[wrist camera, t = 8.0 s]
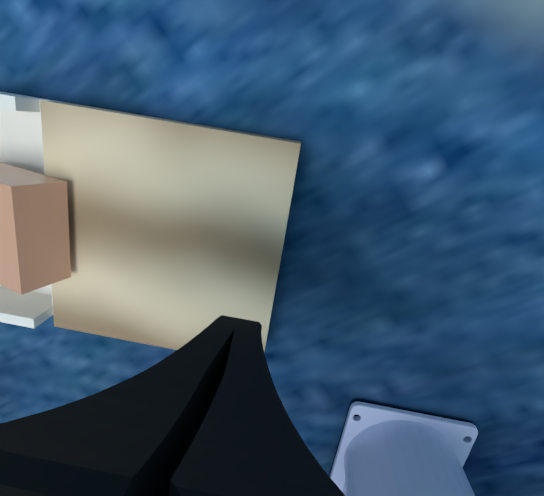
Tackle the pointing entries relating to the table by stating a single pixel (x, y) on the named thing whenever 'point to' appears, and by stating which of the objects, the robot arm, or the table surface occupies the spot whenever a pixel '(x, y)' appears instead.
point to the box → (29, 155)
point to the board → (166, 222)
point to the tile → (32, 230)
